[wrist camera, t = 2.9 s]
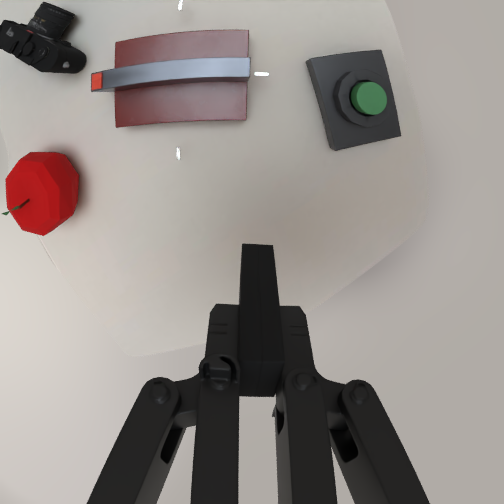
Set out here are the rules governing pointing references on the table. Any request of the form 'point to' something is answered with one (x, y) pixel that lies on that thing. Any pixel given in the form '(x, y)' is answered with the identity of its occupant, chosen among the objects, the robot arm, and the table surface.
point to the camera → (43, 41)
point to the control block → (339, 98)
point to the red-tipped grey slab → (172, 73)
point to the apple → (42, 191)
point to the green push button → (368, 98)
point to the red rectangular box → (186, 94)
